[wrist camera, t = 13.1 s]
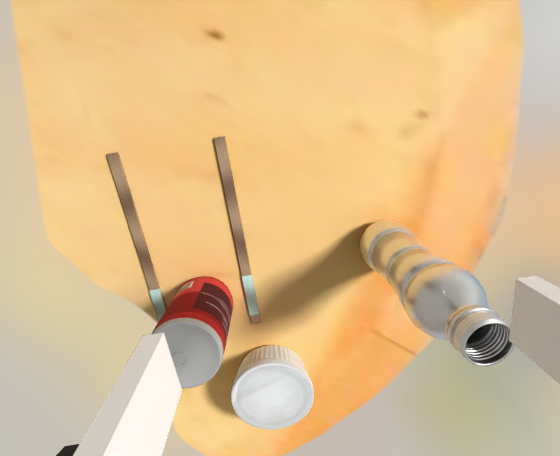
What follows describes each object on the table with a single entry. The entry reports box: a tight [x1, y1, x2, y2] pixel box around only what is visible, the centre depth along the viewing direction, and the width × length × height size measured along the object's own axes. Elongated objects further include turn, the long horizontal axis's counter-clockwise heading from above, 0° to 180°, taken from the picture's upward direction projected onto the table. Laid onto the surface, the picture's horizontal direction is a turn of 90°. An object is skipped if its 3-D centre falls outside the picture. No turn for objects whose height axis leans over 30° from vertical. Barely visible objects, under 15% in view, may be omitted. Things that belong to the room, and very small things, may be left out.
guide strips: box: [106, 136, 260, 324], centre depth 38 cm, size 27×14×1 cm, turn 8°
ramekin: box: [231, 345, 314, 430], centre depth 43 cm, size 11×11×5 cm
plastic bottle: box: [360, 220, 514, 366], centre depth 30 cm, size 6×7×20 cm
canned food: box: [152, 277, 233, 388], centre depth 35 cm, size 8×8×11 cm
